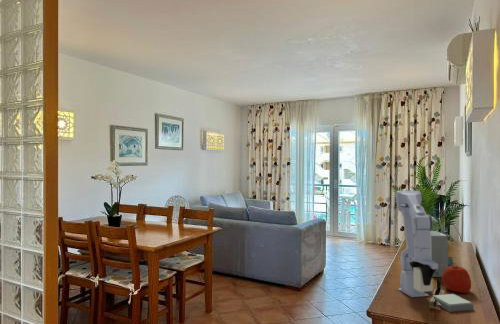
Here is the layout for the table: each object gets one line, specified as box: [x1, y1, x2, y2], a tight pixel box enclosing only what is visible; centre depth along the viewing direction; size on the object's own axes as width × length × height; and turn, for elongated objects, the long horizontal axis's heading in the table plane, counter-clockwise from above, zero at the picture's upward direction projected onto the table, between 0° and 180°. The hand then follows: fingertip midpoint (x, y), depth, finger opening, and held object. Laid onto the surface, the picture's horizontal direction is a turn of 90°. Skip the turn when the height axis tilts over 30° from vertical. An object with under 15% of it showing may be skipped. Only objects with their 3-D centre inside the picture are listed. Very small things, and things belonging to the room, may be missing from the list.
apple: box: [441, 265, 472, 294], centre depth 150 cm, size 11×11×11 cm
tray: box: [430, 293, 474, 313], centre depth 134 cm, size 10×10×2 cm
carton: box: [413, 267, 434, 293], centre depth 132 cm, size 4×5×8 cm
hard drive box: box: [429, 230, 449, 278], centre depth 175 cm, size 16×8×20 cm, turn 168°
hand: (422, 283), depth 132 cm, fingers closed on carton, 4 cm apart
